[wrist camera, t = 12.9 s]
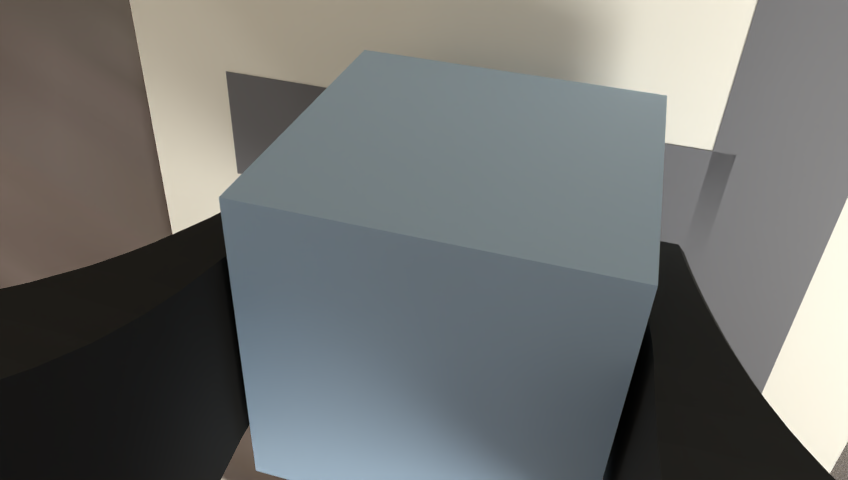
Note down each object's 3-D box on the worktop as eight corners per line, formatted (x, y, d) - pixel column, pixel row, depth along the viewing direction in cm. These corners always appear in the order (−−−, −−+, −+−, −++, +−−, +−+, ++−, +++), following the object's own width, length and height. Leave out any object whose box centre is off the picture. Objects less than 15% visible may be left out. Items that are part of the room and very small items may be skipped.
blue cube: (666, 95, 12) (657, 286, 8) (607, 333, 15) (578, 561, 11) (364, 50, 13) (218, 197, 9) (365, 280, 16) (256, 470, 12)
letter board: (1245, -308, 9) (1271, -310, 8) (798, 506, 18) (801, 524, 18) (84, -354, 12) (62, -356, 12) (206, 357, 21) (197, 370, 21)
